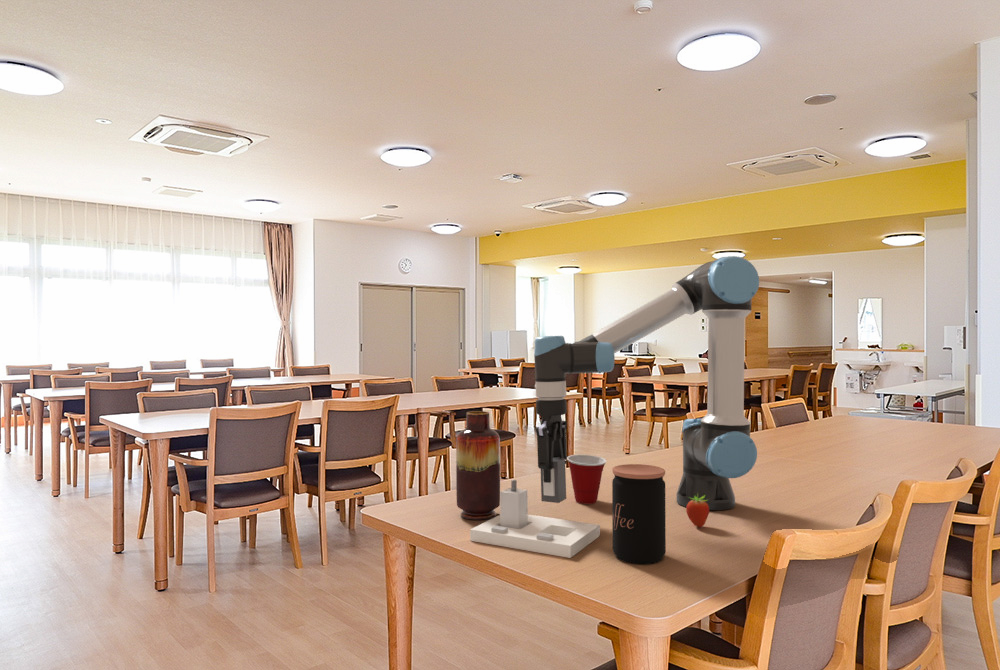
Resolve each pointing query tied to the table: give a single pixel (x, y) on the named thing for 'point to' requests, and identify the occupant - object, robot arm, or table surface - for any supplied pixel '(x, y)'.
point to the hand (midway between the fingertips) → (553, 492)
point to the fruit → (697, 511)
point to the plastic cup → (586, 477)
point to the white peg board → (533, 528)
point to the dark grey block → (556, 482)
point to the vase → (478, 468)
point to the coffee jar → (638, 513)
